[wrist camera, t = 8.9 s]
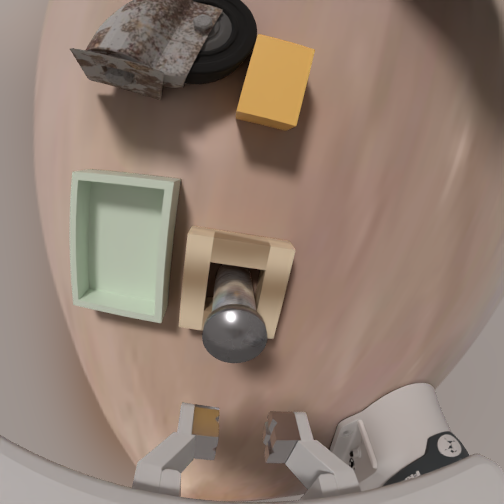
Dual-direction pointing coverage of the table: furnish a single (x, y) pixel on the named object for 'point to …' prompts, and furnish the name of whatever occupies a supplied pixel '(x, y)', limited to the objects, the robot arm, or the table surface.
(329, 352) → the table surface
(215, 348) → the stop pin
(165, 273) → the tray
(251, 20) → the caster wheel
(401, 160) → the table surface
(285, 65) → the chock
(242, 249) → the pin stand
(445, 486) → the robot arm
